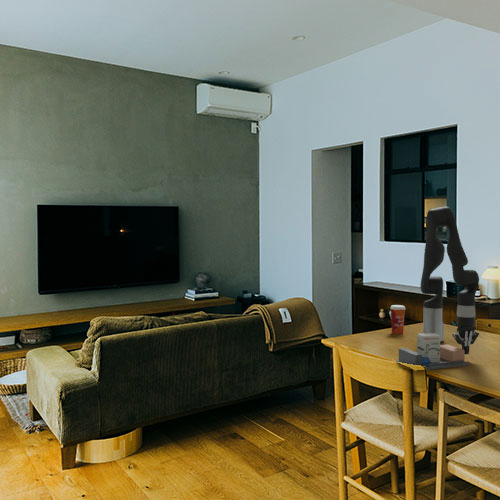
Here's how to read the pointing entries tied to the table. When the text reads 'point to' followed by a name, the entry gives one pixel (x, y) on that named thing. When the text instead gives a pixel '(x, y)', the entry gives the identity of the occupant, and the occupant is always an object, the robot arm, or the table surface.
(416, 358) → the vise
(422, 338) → the ink box
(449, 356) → the pink rectangular block
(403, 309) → the coffee cup
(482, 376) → the table surface
